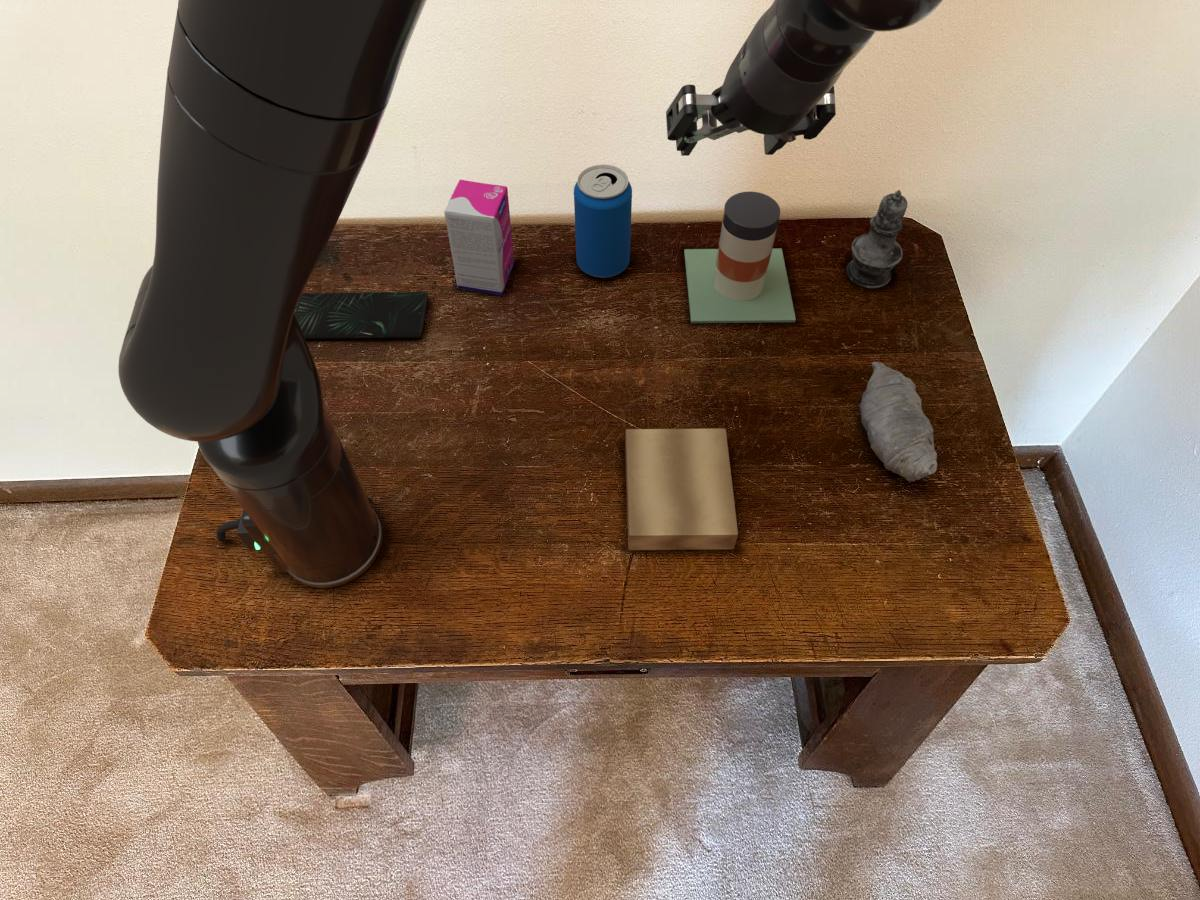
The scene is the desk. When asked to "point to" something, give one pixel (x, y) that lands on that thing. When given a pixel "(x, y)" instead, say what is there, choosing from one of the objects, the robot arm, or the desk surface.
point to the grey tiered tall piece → (879, 245)
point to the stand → (679, 490)
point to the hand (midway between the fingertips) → (726, 145)
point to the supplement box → (480, 236)
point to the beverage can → (603, 220)
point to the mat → (718, 309)
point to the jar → (745, 245)
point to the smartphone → (362, 315)
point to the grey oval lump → (897, 424)
